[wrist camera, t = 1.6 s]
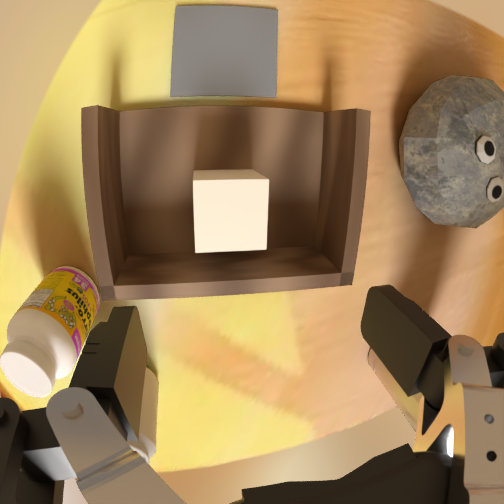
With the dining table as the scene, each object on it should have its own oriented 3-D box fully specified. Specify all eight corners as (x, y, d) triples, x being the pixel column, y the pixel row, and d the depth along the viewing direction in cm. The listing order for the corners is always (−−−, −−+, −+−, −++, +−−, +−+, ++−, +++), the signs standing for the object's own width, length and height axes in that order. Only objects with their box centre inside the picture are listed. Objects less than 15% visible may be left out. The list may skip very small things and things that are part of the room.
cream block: (252, 169, 25) (269, 179, 20) (251, 225, 27) (266, 249, 21) (193, 170, 24) (192, 180, 19) (195, 227, 26) (195, 253, 21)
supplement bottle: (110, 315, 29) (79, 408, 17) (60, 321, 28) (18, 405, 16) (89, 257, 26) (35, 338, 14) (38, 268, 25) (-24, 341, 13)
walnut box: (332, 114, 25) (370, 111, 19) (321, 254, 30) (351, 284, 24) (109, 113, 22) (81, 107, 15) (120, 264, 27) (102, 300, 21)
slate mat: (276, 11, 20) (277, 9, 20) (275, 98, 24) (276, 97, 23) (176, 7, 19) (176, 5, 18) (170, 97, 22) (170, 96, 22)
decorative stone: (496, 187, 32) (547, 206, 23) (402, 244, 32) (459, 282, 23) (475, 69, 25) (532, 69, 16) (362, 94, 25) (431, 86, 16)
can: (108, 394, 33) (95, 469, 22) (94, 352, 30) (70, 433, 19) (162, 396, 34) (161, 475, 23) (155, 354, 31) (148, 441, 20)
